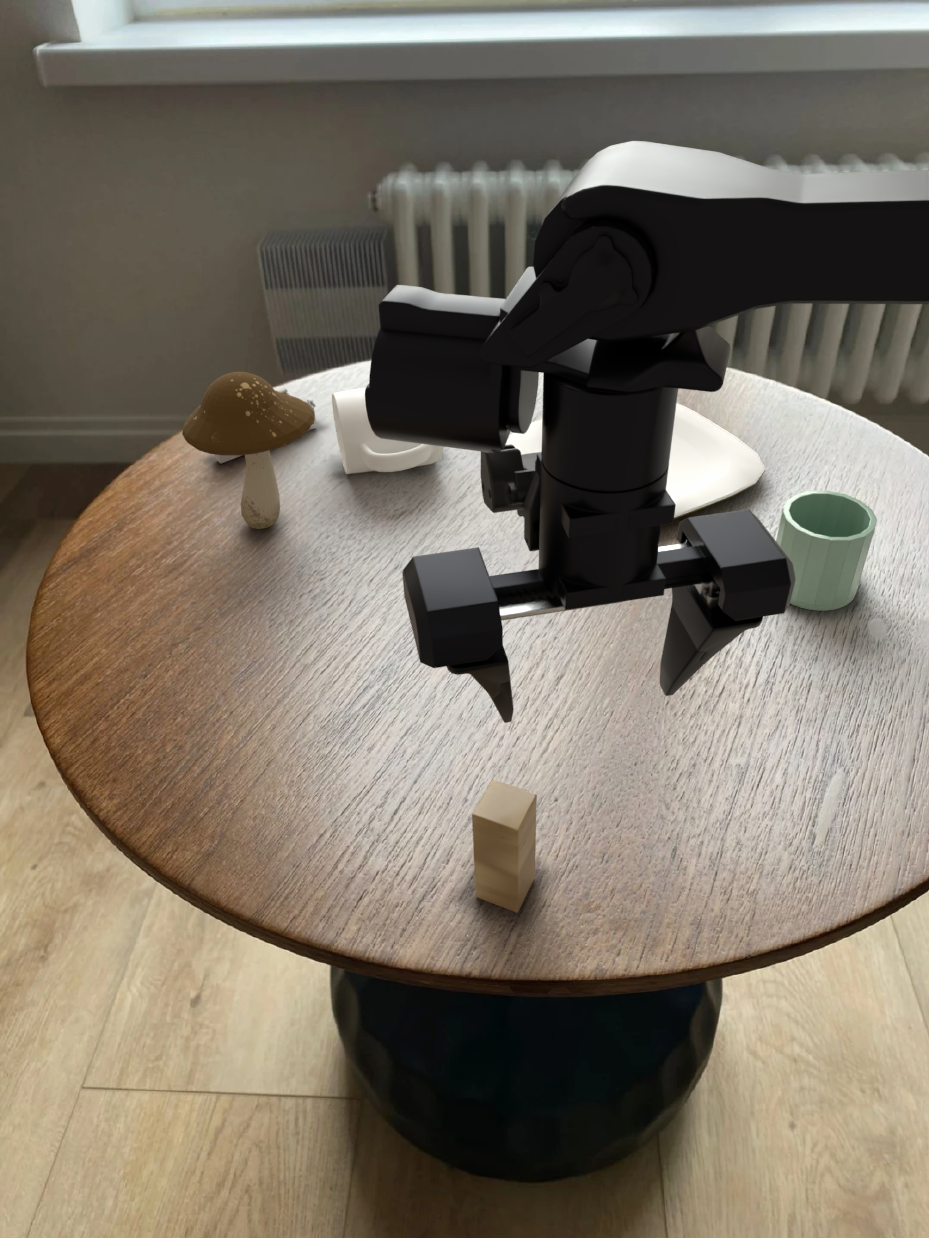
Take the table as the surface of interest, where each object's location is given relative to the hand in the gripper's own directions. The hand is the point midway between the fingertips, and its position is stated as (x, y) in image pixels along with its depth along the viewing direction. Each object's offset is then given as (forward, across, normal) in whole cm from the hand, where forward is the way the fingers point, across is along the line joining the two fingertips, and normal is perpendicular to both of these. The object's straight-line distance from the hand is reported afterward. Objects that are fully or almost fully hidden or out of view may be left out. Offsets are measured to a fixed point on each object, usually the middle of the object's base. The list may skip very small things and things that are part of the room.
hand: (586, 703), depth 54 cm
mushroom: (+13, +18, -41) cm, 47 cm away
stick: (+12, +5, +2) cm, 14 cm away
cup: (+12, -26, -21) cm, 36 cm away
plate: (+13, -18, -42) cm, 48 cm away
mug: (+13, +5, -48) cm, 50 cm away
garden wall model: (+13, +17, -56) cm, 60 cm away
